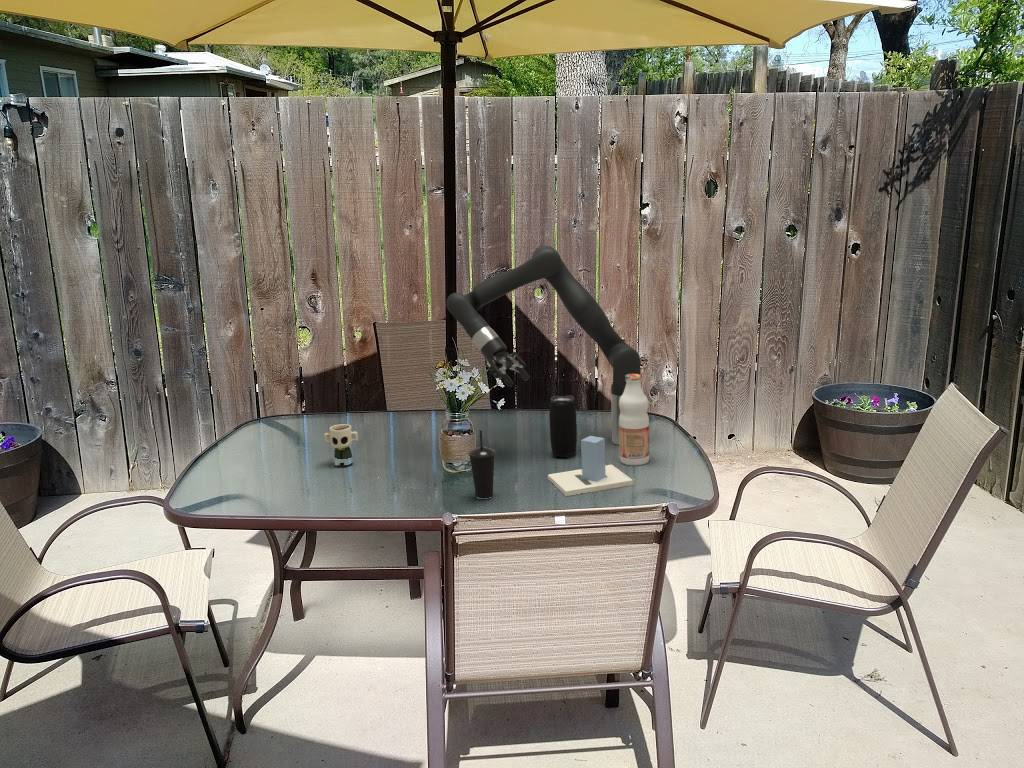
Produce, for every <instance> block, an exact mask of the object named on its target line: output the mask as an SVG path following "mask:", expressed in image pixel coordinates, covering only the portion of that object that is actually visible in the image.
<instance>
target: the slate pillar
mask: <svg viewBox="0 0 1024 768" xmlns="http://www.w3.org/2000/svg"><path fill="white" fill-rule="evenodd" d="M605 440H606V438H604V437H599V436H595V435H594V436H593V435H589V436H587V437H585V438H583V439H581V440H580V447H581V449H580V450H581V451H580V453H581V469H582V479H585V480H590V481H594V482H598V481H599V480H601V479H603V478H604V477H606V473H605V465H606V441H605Z"/></svg>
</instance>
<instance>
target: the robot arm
mask: <svg viewBox="0 0 1024 768" xmlns="http://www.w3.org/2000/svg"><path fill="white" fill-rule="evenodd" d="M542 279H545V280H546V281H547V282H548V283H549V284H550V285H551V286H552V288H553V289H554V290H555V292H556V294H557V295H558V296H559V299H560V301H561V302H562V304H563V305H564V307H565V309H566V310H567V312H568V313H569V314H570V316H571V317H572V318H573V319H574V321H575V322H576V324H578V326H579V327H580V328H581V329H582V330H583V332H585V333H586V334H587V335H588V336H589V337H590V338H591V339H592V340H593V341H594V342H595V343H596V345H597V346H598V348H599V349H600V350H601V352H602V353H603V355H604V356H605V357H606V360H607V362H608V363H609V365H610V366H611V368H612V383H611V386H610V398H611V399H610V401H611V402H610V403H611V404H610V405H611V406H610V407H611V442H612V443H613V444H615V445H618V446H619V416H620V413H621V411H620V407H619V399H620V397H621V396H622V394H623V392H624V390H625V386H626V380H625V376H626V375H628V374H639V375H641V370H642V369H641V357H640V354H639V353H638V351H637V350H636V349H635V348H633V347H631V346H630V345H629V344H628V343H627V342H625V341H624V339H622V337H621V336H620V335H619V334H618V333H617V332H616V330H615V329H614V328H613V326H612V324H611V323H610V320H609V319H608V317H607V315H606V312H604V310H603V309H602V307H601V305H600V304H599V302H597V300H596V299H595V298H594V297H593V295H592V294H591V293H590V292H589V291H588V290H587V289H586V288H585V287H584V285H582V284H581V283H580V281H578V280H577V278H576V277H575V276H573V274H572V273H571V272H570V270H569V269H568V267H567V266H566V264H565V263H564V261H563V259H562V257H561V255H560V252H559V251H558V250H556V248H554V247H553V246H550V245H541V246H538V247H536V249H534V251H533V252H532V256H531V258H529V259H528V260H527V261H525V262H523V263H522V264H520V265H518V266H517V267H514V268H512V269H509V270H507V271H504V272H500V273H499V274H495V275H493V276H491V277H489V278H487V279H485V280H483V281H481V282H479V283H477V284H475V285H474V286H473V287H472V290H471V291H470V292H468V293H467V294H463V293H461V292H453V293H451V294H449V296H448V297H447V298H446V303H445V304H446V305H445V306H446V307H447V308H446V309H447V310H448V311H449V313H450V315H452V317H453V318H454V319H455V320H456V321H457V322H458V323H459V324H460V325H461V326H462V328H463V329H464V331H465V333H466V334H467V335H468V337H470V339H471V340H472V342H473V343H474V345H475V346H476V349H478V350H479V352H480V353H481V354H482V356H483V357H484V358H485V359H486V361H487V362H486V363H485V366H486V369H488V370H489V373H491V375H492V376H493V378H494V379H496V380H497V379H500V380H502V382H503V383H504V384H505V386H506V387H508V388H511V387H512V386H513V385H514V384H515V382H514V381H513V380H512V379H511V377H510V376H509V375H508V374H507V371H506V370H511V371H515V372H516V373H518V375H519V376H520V378H521V379H522V380H523V381H524V383H525V382H527V381H528V380H530V377H531V376H530V375H529V374H528V372H527V371H526V370H525V367H526V365H527V363H526V362H525V361H524V360H523V359H522V358H521V356H520V355H519V354H518V353H517V352H516V351H513V352H512V353H509V352H508V351H507V350H508V348H507V346H506V344H505V342H503V340H502V339H501V338H500V337H499V335H498V334H497V333H496V332H495V330H494V329H493V328H491V327H490V325H489V323H487V321H486V320H485V318H483V316H482V315H481V314H479V313H478V311H479V310H480V309H481V308H483V307H484V306H485V305H487V304H489V303H492V302H493V301H495V300H498V299H500V298H501V297H503V296H505V295H507V294H509V293H511V292H512V291H515V290H517V289H519V288H521V287H523V286H526V285H528V284H530V283H533V282H536V281H539V280H542Z"/></svg>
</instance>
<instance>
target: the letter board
mask: <svg viewBox="0 0 1024 768" xmlns="http://www.w3.org/2000/svg"><path fill="white" fill-rule="evenodd" d="M605 473H606V477H604V478H603V479H601V480H599V481H598V482H594V481H590V480H585V479H582V468H581V469H580V468H579V469H575V470H569V471H562V472H556V473H550V474H547V480H548V481H549V480H550V481H551V482H552V483H553V484H554V485H553V484H552V485H553V486H555V488H557V490H559V491H560V492H561V493H562V495H564V496H565V497H570V496H575V495H576V494H577V495H580V494H581V493H583V494H588V492H589V493H593V492H601V491H606V490H611V489H617V488H623V487H624V488H625V487H629V486H633V485H634V480H633V479H632V478H631V477H629V476H628V475H626V474H625V473H624V472H622V471H621V470H619V469H618V468H617V467H616V466H614V465H613V464H608V465H607V464H605ZM550 481H549V482H550ZM551 482H550V483H551ZM581 495H582V494H581Z"/></svg>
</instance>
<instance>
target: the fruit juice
mask: <svg viewBox="0 0 1024 768" xmlns="http://www.w3.org/2000/svg"><path fill="white" fill-rule="evenodd" d="M625 380H626V386H625V390H624V392H623V394H622V396H621V397H620V399H619V407H620V411H621V413H620V416H619V445H618V449H619V450H618V452H619V453H618V455H619V457H618V459H619V462H620V463H621V464H623V465H626V466H643V465H646V464H648V463H649V461H650V419H649V414H648V409H649V400H648V397H647V396H646V394H645V393H644V391H643V388H642V385H641V381H642V375H641V374H640V375H639V374H628V375H626V376H625Z"/></svg>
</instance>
